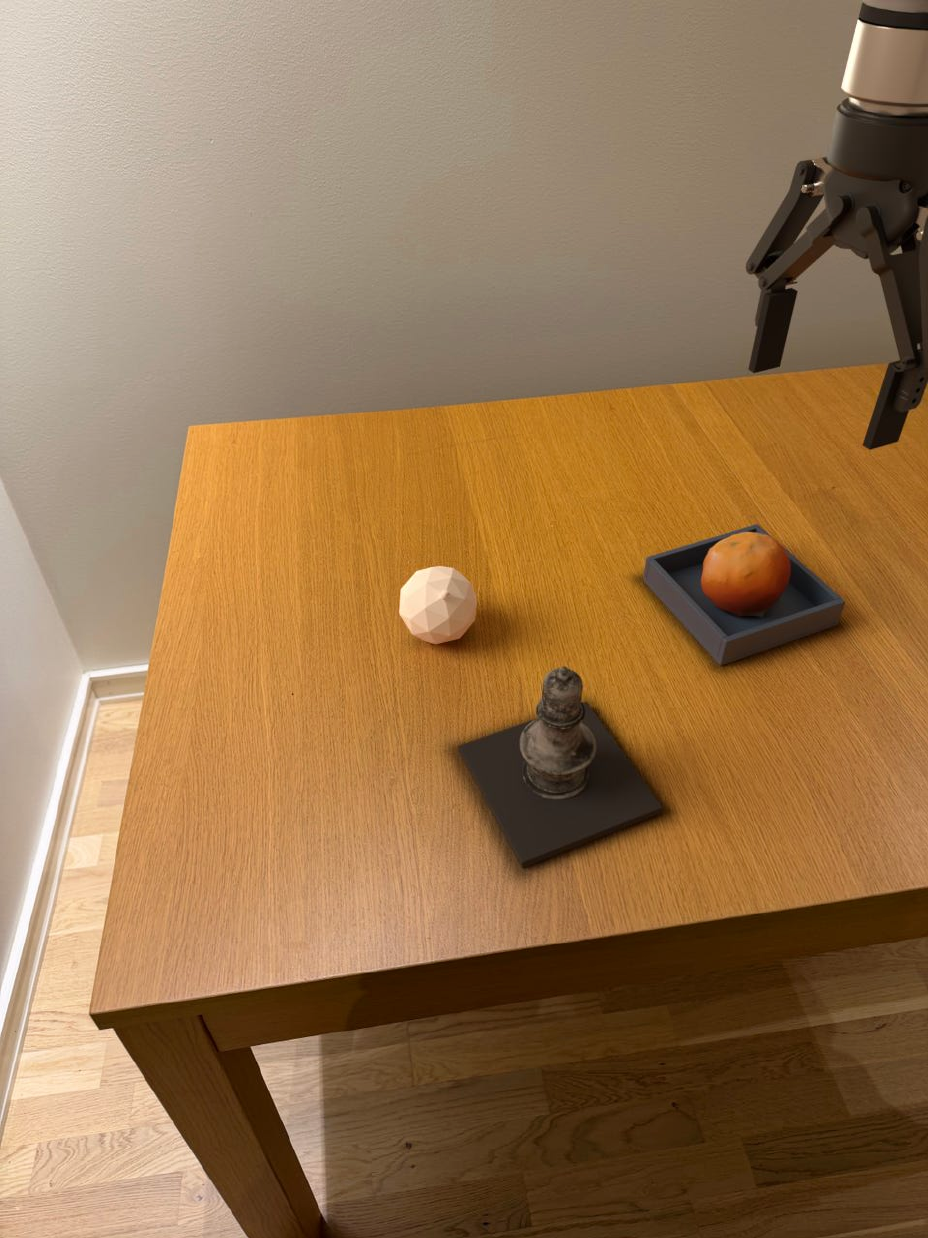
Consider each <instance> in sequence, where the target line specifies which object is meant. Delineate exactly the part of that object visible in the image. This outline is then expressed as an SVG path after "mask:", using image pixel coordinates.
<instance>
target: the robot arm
mask: <svg viewBox="0 0 928 1238" xmlns="http://www.w3.org/2000/svg"><path fill="white" fill-rule="evenodd" d="M840 89H841V91H842V92H843V93H844V94H845V95H846V96H847V97H846V98H845V99H843V100H842V101H841V102H840V104H839V103H838V105H837V107H836V110H835V115H834V118H833V122H832V126H831V130H830V131H831V132H830V134H829V135H830V136H829V140H828V144H827V148H826V153H825V156H824V157H818V158H817V157H816V158H812V159H811V158H810V159H805V160H800V161H798V162H797V164H796V165H795V168H794V171H793V176H792V179H791V181H790V182H791V183H790V186H789V189H788V191H787V193H786V195H785V197H784V198H783V200H782V202H781V203H780V205H779V207H778V209H777V210H776V211H775V213H774V214H773V217H772V219H771V220H770V221H769V224H768V225H767V227H766V229H765V230H764V232H763V233H762V235H761V236H760V239H759V240H758V242H757V244H756V245H755V247H754V248H753V250H752V252H751V254H750V256H749V257H748V259H747V261H746V263H745V270H746V273H747V274H748V275H751V276H752V275H754V276H755V277H756V278H757V279H758V280H757V282H758V283H757V285H758V288H759V289H760V292H759V298H758V303H757V308H756V312H755V317H754V324H755V327H756V330H755V336H754V341H753V346H752V350H751V355H750V360H749V365H748V369H747V370H748V371H750V372H751V373H753V374H756V373H760V372H761V373H762V372H764V371H768V370H774V369H778V368H780V367H781V364H782V359H783V356H784V351H785V348H786V343H787V338H788V336H789V335H788V334H789V331H790V325H791V321H792V317H793V313H794V309H795V305H796V300H797V296H798V290H797V289H795V288H793V287H789V288H787V286H791V285H796V284H798V281H797V279H798V278H799V277H800V276H801V275H802V274H803V273H804V272H805V271H807V270H808V268H810V267H811V266H812V265H813V264H814V263H815V262H817V261H818V260H819V259H820V258H822V256H823V255H824V254H826V253H827V251H829V250H830V249H831V248H832V247H833V246H835V247H837V248H838V249H843V250H850V251H851V252H852V253H853V254H855V256H857V257H859V258H861V259H863V260H869V265H870V268H871V271H872V272H873V273H874V274H875V275H877V276H878V277H879V281H880V284H881V288H882V293H883V297H884V300H885V301H884V302H885V304H886V309H887V313H888V318H889V322H890V325H891V329H892V333H893V337H894V342H895V345H896V349H897V354H898V357H899V359H898V360H895V361H891V362H888V364H887V366H886V367H887V368H886V371H885V374H884V376H883V380H882V383H881V386H880V389H879V392H878V395H877V398H876V402H875V405H874V407H873V411H872V414H871V417H870V420H869V423H868V426H867V430H866V433H865V437H864V439H863V443H862V446H863V447H865V449H867V450H869V451H871V450H875V449H879V448H882V447H885V446H888V445H892V444H896V443H898V442H899V440H900V437H901V436H902V435H901V434H902V432H903V429H904V426H905V423H906V420H907V417H908V415H909V412H910V411H912V410H916V409H917V408H918V407H919V406H920V405H921V402H922V400H923V397H924V394H925V390H926V388H927V385H928V0H862V3H861V6H860V9H859V13H858V18H857V22H856V26H855V29H854V33H853V38H852V41H851V46H850V50H849V53H848V58H847V61H846V66H845V70H844V74H843V77H842V82H841V86H840ZM823 199H824V200H823ZM822 200H823V201H824V205H825V207H824V209H823V210H822V211H821V212H820V213H819V214H818V215H817V216H816V217H815V218H814V219H813V220H812V221H811V222H809V220H810V219H811V217H812V215H813V214H814V213H815V211H816V209H817V208H818V207H819V205H820V204H821V201H822ZM808 222H809V224H807V223H808ZM806 225H807V226H806ZM804 228H805V230H806V231H804V233H803V234H802V235H801V233H802V231H803V230H804ZM919 229H920V230H919ZM899 248H901V253H895V254H893V253H894V252H895V251H897V250H898V249H899ZM918 346H919V348H918Z"/></svg>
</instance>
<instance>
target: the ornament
mask: <svg viewBox="0 0 928 1238" xmlns="http://www.w3.org/2000/svg"><path fill="white" fill-rule="evenodd" d="M399 596H400V597H399V610H398V611H399V612H398V614H399V615H400V617H401V619H402V620H403V622H404V624H405V625H406V627H407V629H408V630H409V632H410V633H411V635H412V636H414V637H416V638H418V639H419V640H420V641H423V642H426V643H430V644H433V645H438V644H442V643H447V642H452V641H456V640H460V639H461V638H462V636H464V634H465V633H466V632H467V630H468V629H469V628H470V627H471V625H472V624H473V623H475V621H476V616H477V607H478V605H477V604H478V602H477V595H476V592H475V590H474V588H473V585H472V584H471V582H470V581H469V580H468V578H466V577H465V576H464V575H463V574H462V573H461V572H459V571H458V570H457V569H455V568H454V567H451V566H450V567H449V566H444V565H438V566H437V565H436V566H431V567H427V568H422V569H420V570H416V571H415V572H414V574H413V575H412V576H411V577H410V578H409V579H408V580H407V581H406V583H405V584H403V586H402V587H401V588H400V595H399Z"/></svg>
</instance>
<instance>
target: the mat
mask: <svg viewBox="0 0 928 1238" xmlns="http://www.w3.org/2000/svg"><path fill="white" fill-rule="evenodd" d="M582 703H583V705H584V707H585V716H584V719H583V720H582V722H581V723H583V724H584V725H586V726H587V727H588V729H589V730H590V731H591V732H592V734H593V736H594V738H595V740H596V752H595V756H594V758H593V760H592V761H591V763H590V764H589V765H588V771H589V778H588V782H587V784H586V786H585V787H584V789H583V790H582V791H581V792H580V793H579V794H577V795H575V796H573V797H571V798H567V799H563V800H552V799H548V798H544V797H542V796H539V795H537V794H536V793H534V792H533V791H532V790H530V789H529V787H528V786H527V785H526V783H525V781H524V779H523V776H522V767H523V764H524V761H525V758H524V757H523V755H522V753H521V750H520V737H521V734H522V732H523V730H524V729H525V727H526V726H527V725H528V724H530V723H531V722H532V721H534V720H536V719H538V717H537V718H535V719H532V720H529V721H526V722H523V723H520V724H517V725H514V726H511V727H508V728H506V729H503V730H500V731H496V732H494V733H491V734H489V735H485V736H483V737H480V738H477V739H473V740H471V741H468V742H465V743H462V744H459V745H458V748H457V749H458V751H457V752H458V754H459V755H460V757H461V759H462V761H463V763H464V764H465V766H466V768H467V770H468V772H469V774H470V775H471V777H472V779H473V782H474V783H475V785H476V786H477V789H478V791H479V792H480V795H481V796H482V798H483V800H484V801H485V803H486V805H487V808H488V809H489V811H490V812H491V814H492V816H493V818H494V820H495V821H496V824H497V825H498V827H499V829H500V831H501V833H502V834H503V836H504V838H505V840H506V842H507V843H508V846H509V847H510V849H511V851H512V853H513V855H514V857H515V858H516V860H517V862H518V864H519V866H520V868H521V869H523V868H526V867H529V866H532V865H534V864H537V863H539V862H542V861H543V860H546V859H549V858H551V857H554V856H556V855H559V854H561V853H564V852H566V851H569V850H572V849H574V848H576V847H580V846H581V845H584V844H586V843H590V842H592V841H594V840H597V839H599V838H602V837H605V836H607V835H610V834H613V833H615V832H618V831H619V830H623V829H625V828H627V827H631V826H632V825H635V824H637V823H640V822H643V821H645V820H648V819H650V818H653V817H656V816H658V815H661V814H662V813H663V805H662V804H661V803H660V801H659V800H658V799H657V797H656V796H655V794H654V792H652V790H651V789H650V788H649V786H648V784H647V783H646V782H645V780H644V779H643V778H642V777H641V775H640V774H639V772H638V771H637V769H636V768H635V766H634V765H633V764H632V762H631V761H630V760H629V758H628V756H627V755H626V754H625V752H623V749H622V748H621V747H620V746H619V744H618V743H617V742H616V741H615V740H616V739H615V738H614V737H613V735H611V733H610V732H609V730H608V729H607V727H606V726H605V725H604V723H603V722H602V721H601V719H600V718H599V717H598V715H597V713H596V712H595V711H594V710H593V708H592V707H591V706H590V704H589V703H588V701H583V702H582Z"/></svg>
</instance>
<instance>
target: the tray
mask: <svg viewBox="0 0 928 1238" xmlns="http://www.w3.org/2000/svg"><path fill="white" fill-rule="evenodd" d="M742 532H757V533H761V534H763V535H769V536H770V537H772V538H774V537H773V536H772V535H770V533H768V532H767V531H766V530H765V529H764V528H763V527H762V526H760V524H758V523H755V524H753V525H749V526H746V527H742V528H739V529H736V530H733V531H729V532H725V533H722V534H719V535H716V536H713V537H709V538H706V539H702V540H698V541H696V542H693V543H689V544H686V545H682V546H679V547H676V548H673V549H669V550H666V551H662V552H659V553H656V554H653V555H649V556H646V558H645V563H644V569H643V570H644V571H643V577H642V582H644V584H645V585H646V586H647V587H648V589H650V590H651V592H653V593H654V595H655V596H656V597H657V598H658V599H659V600H660V601H661V602H662V604H663V605H664V606H665V607H666V608H667V610H668V611H670V613H672V615H673V616H674V617H675V618H676V619H677V620H678V621H679V622H680V623H681V625H682V626H683V627H684V628H685V629H686V630H687V631H688V632H689V633H690V634H691V635H692V636H693V638H694V639H695V640H696V641H697V642H698V644H700V646H701V647H703V649H704V650H705V651H706V652H707V654H709V655H710V656H711V657H712V658H713V660H714V661H715V662H716V663H717V664H718V666H720V667H721V666H724V665H727V664H730V663H733V662H736V661H738V660H742V659H745V658H748V657H750V656H754V655H756V654H758V653H759V654H760V653H761V652H765V651H768V650H770V649H773V648H776V647H778V646H782V645H784V644H787V643H790V642H794V641H796V640H799V639H801V638H805V637H807V636H810V635H813V634H816V633H819V632H821V631H824V630H828V629H830V628H833V627H836V626H838V624H839V622H840V619H841V617H842V613H843V610H844V608H845V606H846V602H847V600H845V599H844V598H843V597H841V596H840V595H839V594H838V593H837V592H836V591H835V590H834V589H832V588H831V587H830V585H828V584H827V583H825V581H824V580H822V579H821V578H820V577H818V576H817V575H816V573H814V572H813V571H812V570H810V568H808V567H807V566H806V565H805V564H804V563H803V562H802V561H801V560H799V559H798V558H797V557H796V556H795V555H793V554H792V553H791V552H790V551H789V550H787V548H786V547H784V546H783V545H782V547H783V548H784V549H785V550H786V552H787V554H788V557H789V560H790V566H791V573H790V579H789V582H788V585H787V587H786V589H785V590H784V592H783V594H782V595H781V597H780V599H778V600H777V601H776V602H775V603H774V604H773V605H772V606H771V607H770V608H769V609H768V610H767V611H766V612H765V613H764V615H763V617H762V618H761V617H759V616H737V615H733V614H731V613H728V612H725V611H723V610H721V609H719V608H718V607H716V606H715V605H714V604H713V603H712V602H711V600H710V599H709V598H708V597H707V596H706V595H705V594H704V592H703V589H702V587H701V577H702V572H703V562H704V559H705V557H706V556H707V554H708V551H709V549H710V548H712V547H713V546H714V545H715V544H716V543H718V542H719V541H721V540H723V539H725V538H727V537H730V536H732V535H734V534H739V533H742Z"/></svg>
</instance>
